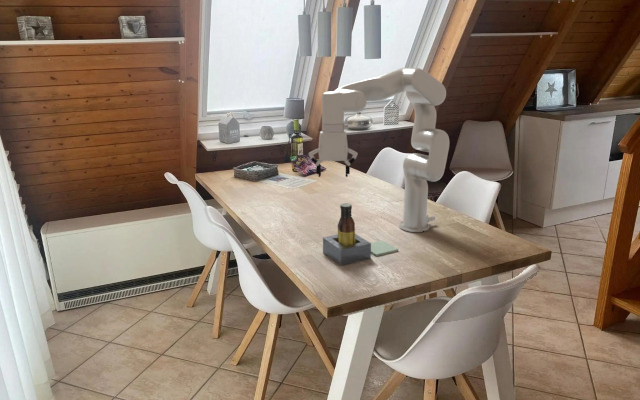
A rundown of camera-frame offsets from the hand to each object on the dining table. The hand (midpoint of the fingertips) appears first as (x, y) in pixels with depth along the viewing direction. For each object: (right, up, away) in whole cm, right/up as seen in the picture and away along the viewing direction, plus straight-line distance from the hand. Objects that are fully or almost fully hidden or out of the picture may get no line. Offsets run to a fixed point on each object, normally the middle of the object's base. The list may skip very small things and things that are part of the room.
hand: (333, 175), depth 174 cm
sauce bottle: (+5, -29, +6) cm, 30 cm away
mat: (+18, -27, +11) cm, 34 cm away
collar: (+5, -29, +5) cm, 30 cm away
